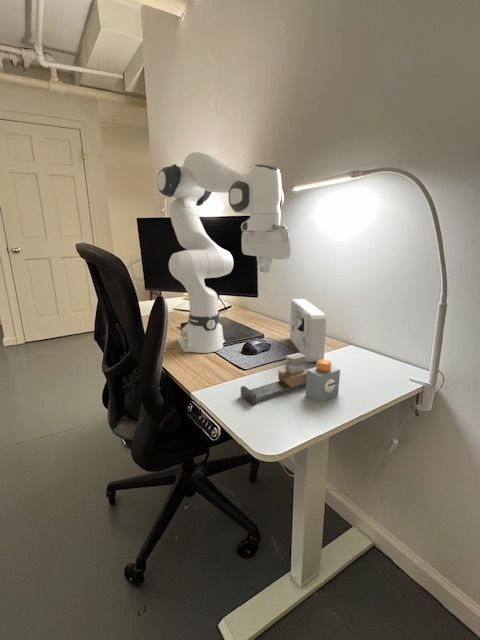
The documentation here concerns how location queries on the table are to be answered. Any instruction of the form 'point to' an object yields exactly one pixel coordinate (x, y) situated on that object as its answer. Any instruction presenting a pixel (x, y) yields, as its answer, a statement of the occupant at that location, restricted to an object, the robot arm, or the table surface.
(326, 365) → the button
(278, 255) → the robot arm
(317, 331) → the rounded white slab
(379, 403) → the table surface
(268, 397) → the rail
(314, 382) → the cabinet
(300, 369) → the carriage
